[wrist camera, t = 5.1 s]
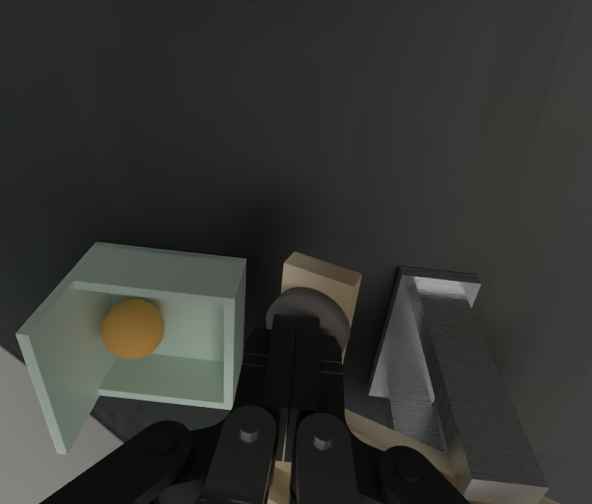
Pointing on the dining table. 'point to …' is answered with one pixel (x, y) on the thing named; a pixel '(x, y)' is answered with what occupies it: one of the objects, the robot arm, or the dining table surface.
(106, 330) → the ball
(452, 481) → the lever
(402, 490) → the robot arm
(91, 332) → the pale green cubby shelf
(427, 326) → the fulcrum
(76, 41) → the dining table surface
